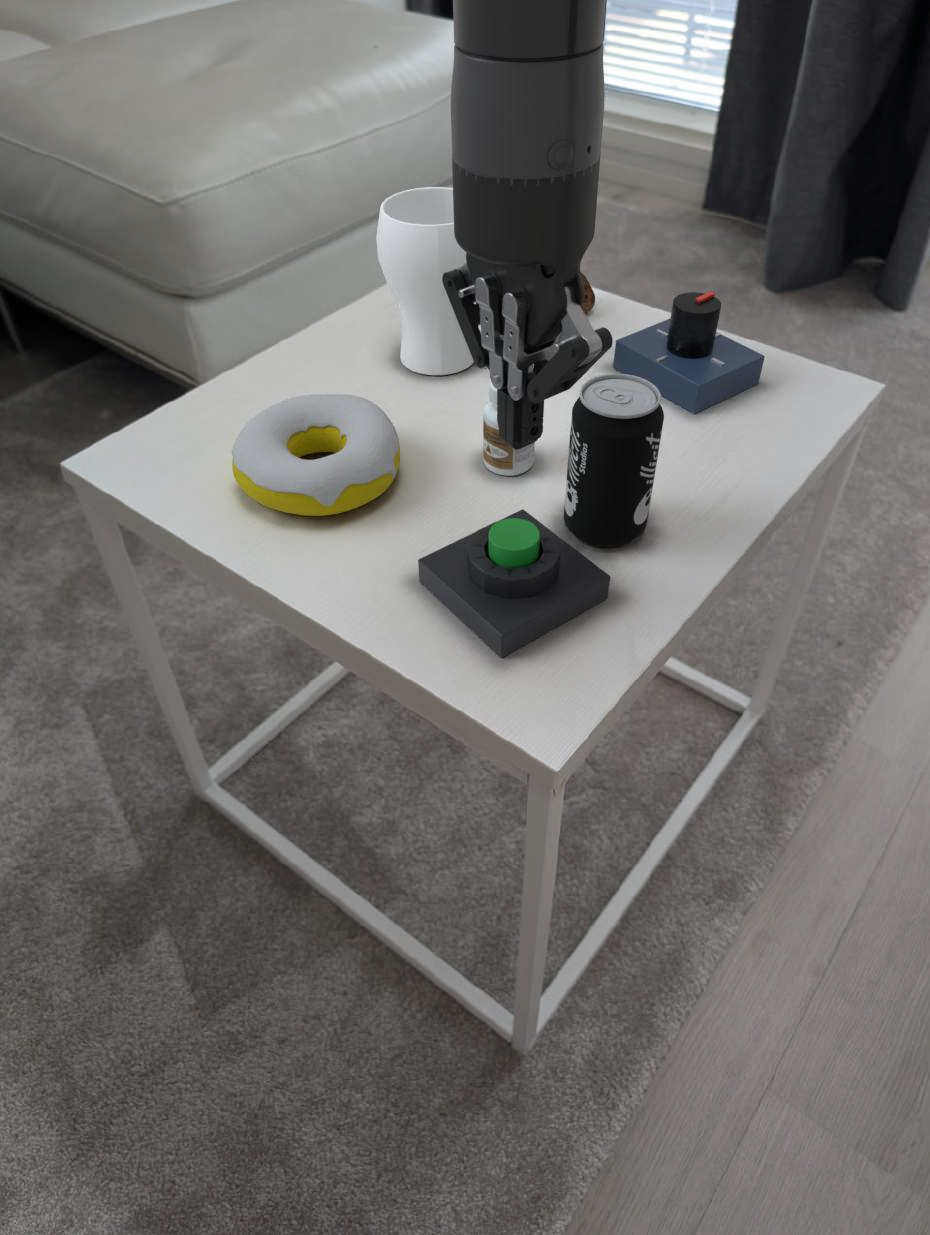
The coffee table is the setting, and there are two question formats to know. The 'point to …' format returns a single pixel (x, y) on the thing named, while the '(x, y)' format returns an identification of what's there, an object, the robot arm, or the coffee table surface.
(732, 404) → the coffee table surface
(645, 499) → the beverage can
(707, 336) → the program dial
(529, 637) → the button block
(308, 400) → the donut
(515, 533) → the button
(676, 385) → the control panel
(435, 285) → the cup
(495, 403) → the pill bottle
